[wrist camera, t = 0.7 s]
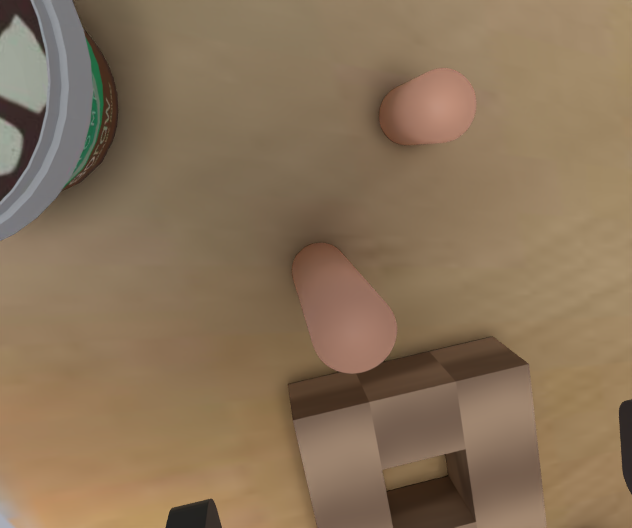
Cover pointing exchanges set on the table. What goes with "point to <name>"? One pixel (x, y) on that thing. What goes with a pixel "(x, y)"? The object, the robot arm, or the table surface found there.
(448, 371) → the walnut block
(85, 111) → the food container
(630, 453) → the robot arm
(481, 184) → the table surface
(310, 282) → the long dowel
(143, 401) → the table surface
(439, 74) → the short dowel
